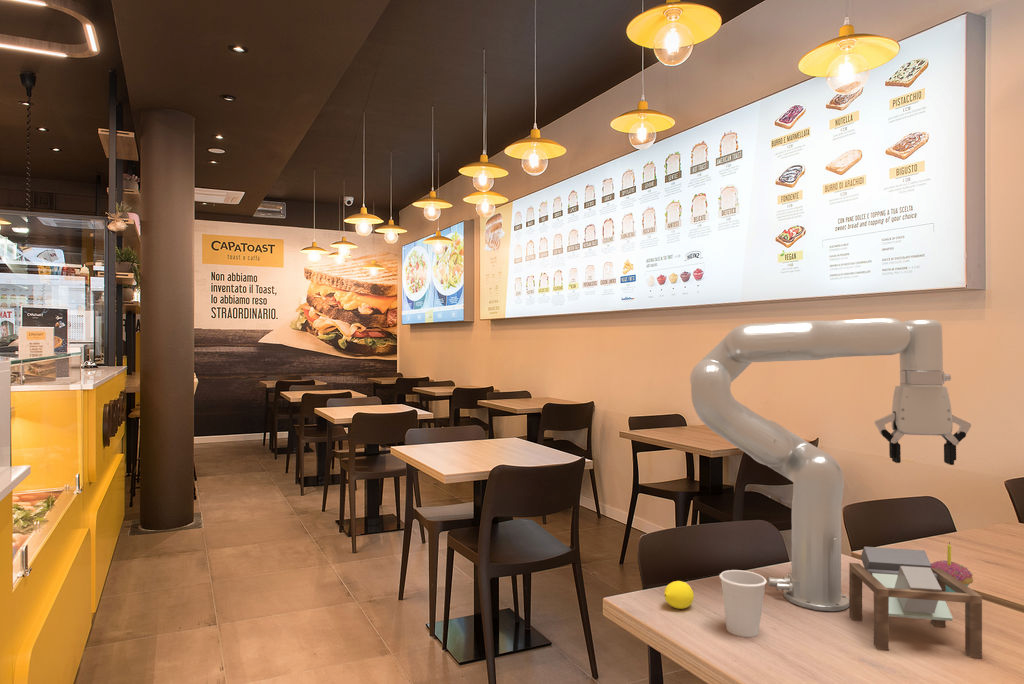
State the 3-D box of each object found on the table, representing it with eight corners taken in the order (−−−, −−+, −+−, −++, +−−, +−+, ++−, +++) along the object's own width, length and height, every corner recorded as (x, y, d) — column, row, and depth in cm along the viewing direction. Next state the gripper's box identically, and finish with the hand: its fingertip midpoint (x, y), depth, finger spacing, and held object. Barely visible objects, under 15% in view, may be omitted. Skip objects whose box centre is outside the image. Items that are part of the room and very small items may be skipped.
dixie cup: (709, 625, 124) (710, 572, 124) (743, 618, 127) (743, 567, 127) (741, 643, 116) (741, 587, 116) (776, 636, 119) (776, 581, 120)
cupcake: (974, 605, 136) (974, 547, 136) (926, 596, 140) (926, 541, 140) (971, 592, 143) (971, 538, 143) (925, 585, 147) (925, 532, 148)
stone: (894, 589, 121) (900, 565, 119) (923, 591, 121) (930, 567, 118) (903, 611, 117) (910, 587, 114) (934, 613, 116) (941, 589, 113)
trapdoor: (880, 621, 119) (883, 611, 117) (858, 556, 131) (861, 546, 129) (951, 627, 117) (957, 616, 115) (923, 560, 129) (927, 550, 127)
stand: (877, 649, 114) (877, 589, 114) (849, 616, 129) (849, 562, 129) (982, 658, 111) (982, 596, 111) (941, 623, 126) (941, 568, 126)
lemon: (681, 603, 136) (684, 577, 136) (699, 612, 131) (702, 585, 132) (655, 603, 133) (658, 577, 134) (672, 613, 128) (675, 585, 129)
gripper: (961, 379, 135) (962, 461, 134) (869, 378, 139) (870, 458, 139) (977, 380, 128) (978, 467, 127) (880, 379, 132) (881, 464, 131)
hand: (922, 462), depth 133 cm, fingers open, 9 cm apart
